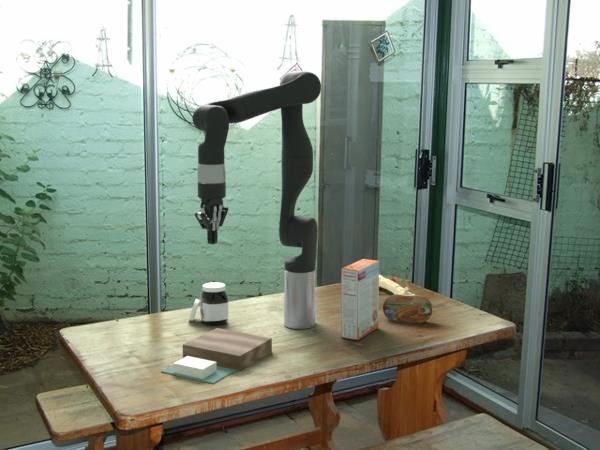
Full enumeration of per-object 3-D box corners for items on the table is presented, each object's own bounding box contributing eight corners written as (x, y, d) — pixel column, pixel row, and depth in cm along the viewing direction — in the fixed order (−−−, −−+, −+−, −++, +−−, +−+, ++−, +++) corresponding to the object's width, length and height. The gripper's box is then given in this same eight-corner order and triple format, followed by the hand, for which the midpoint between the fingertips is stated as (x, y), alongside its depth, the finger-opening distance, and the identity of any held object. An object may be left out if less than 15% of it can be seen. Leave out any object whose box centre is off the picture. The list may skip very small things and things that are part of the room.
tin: (382, 320, 243) (382, 294, 242) (383, 317, 246) (384, 291, 245) (431, 324, 240) (432, 297, 238) (432, 321, 243) (433, 295, 241)
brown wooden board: (217, 341, 223) (216, 327, 222) (271, 352, 215) (271, 338, 214) (182, 358, 209) (182, 344, 208) (240, 370, 201) (239, 356, 200)
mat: (184, 360, 208) (184, 358, 208) (235, 370, 201) (235, 369, 201) (160, 372, 200) (160, 370, 200) (213, 383, 192) (213, 382, 192)
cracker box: (361, 325, 239) (362, 257, 235) (379, 328, 236) (380, 260, 232) (339, 337, 227) (340, 267, 223) (357, 341, 224) (359, 269, 220)
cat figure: (420, 304, 266) (379, 281, 287) (423, 280, 264) (381, 259, 285) (396, 308, 262) (356, 285, 283) (398, 283, 259) (358, 261, 280)
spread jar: (231, 325, 238) (231, 287, 236) (196, 329, 233) (195, 291, 231) (218, 314, 249) (218, 278, 247) (184, 318, 244) (183, 282, 242)
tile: (173, 363, 198) (173, 372, 199) (202, 369, 194) (202, 379, 194) (187, 355, 203) (187, 365, 204) (216, 361, 199) (216, 371, 200)
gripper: (214, 176, 219) (214, 238, 222) (185, 182, 207) (186, 246, 211) (236, 178, 215) (237, 240, 219) (209, 184, 204) (209, 249, 207)
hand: (212, 243), depth 215 cm, fingers closed
